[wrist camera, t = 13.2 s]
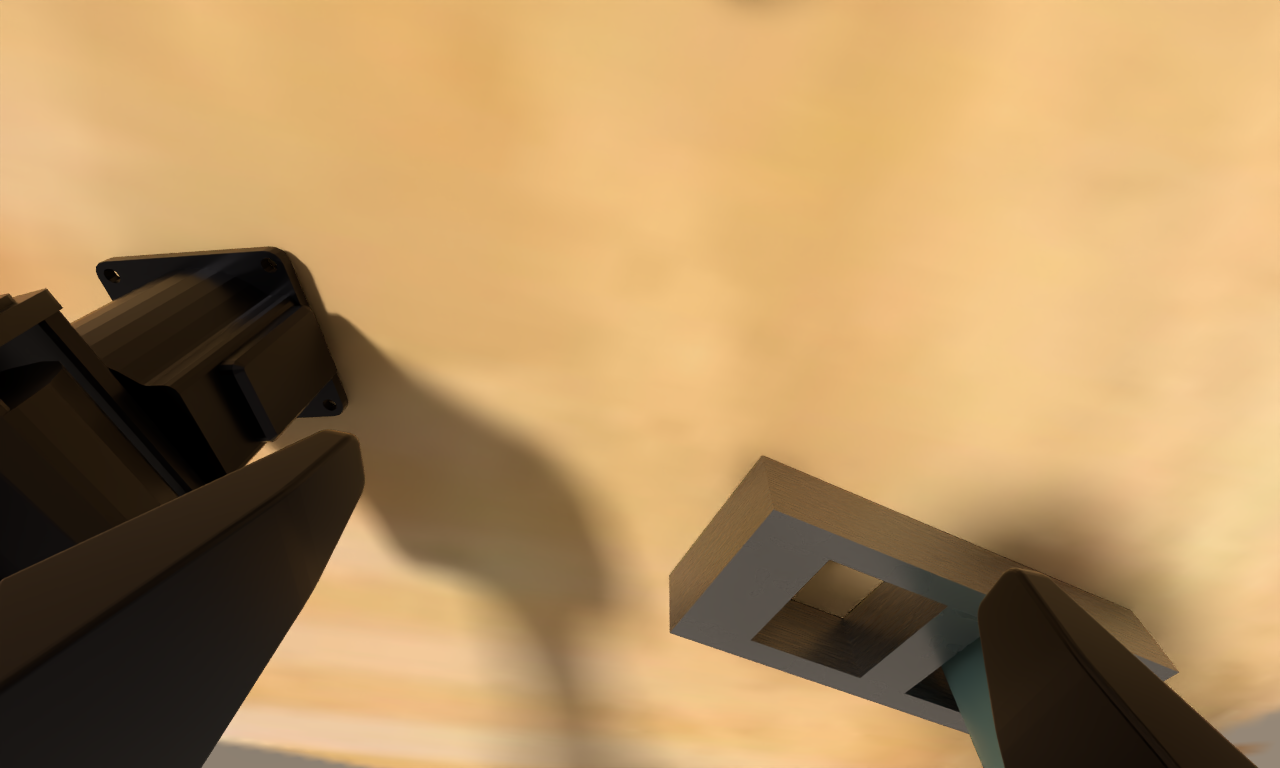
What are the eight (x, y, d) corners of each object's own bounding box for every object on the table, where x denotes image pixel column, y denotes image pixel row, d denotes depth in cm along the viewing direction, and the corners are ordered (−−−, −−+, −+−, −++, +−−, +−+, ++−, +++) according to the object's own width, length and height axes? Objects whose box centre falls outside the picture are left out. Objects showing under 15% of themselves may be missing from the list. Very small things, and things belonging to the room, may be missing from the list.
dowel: (931, 651, 30) (1086, 1028, 19) (918, 602, 28) (1083, 991, 17) (1017, 634, 29) (1233, 1021, 18) (1009, 583, 27) (1247, 981, 16)
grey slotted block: (669, 575, 27) (669, 632, 25) (762, 455, 23) (773, 509, 21) (1004, 695, 31) (1034, 756, 29) (1131, 611, 27) (1179, 672, 25)
